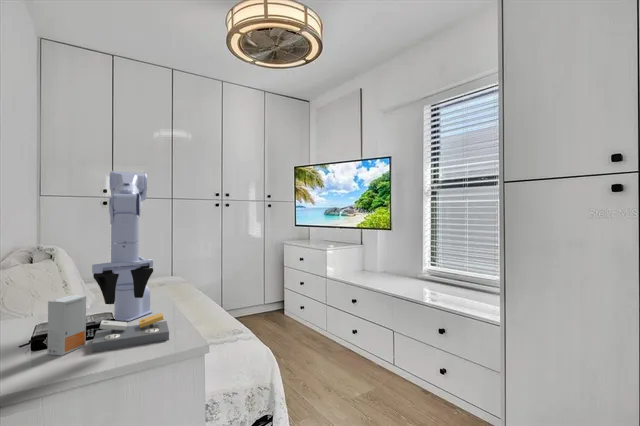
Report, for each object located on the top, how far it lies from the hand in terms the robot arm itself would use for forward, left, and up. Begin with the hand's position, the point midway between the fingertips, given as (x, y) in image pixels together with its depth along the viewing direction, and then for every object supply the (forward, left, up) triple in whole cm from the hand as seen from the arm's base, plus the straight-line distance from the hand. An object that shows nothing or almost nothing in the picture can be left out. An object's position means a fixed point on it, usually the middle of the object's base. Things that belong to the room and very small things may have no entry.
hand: (124, 300), depth 79 cm
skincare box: (+5, -11, -11) cm, 16 cm away
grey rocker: (-2, -6, -7) cm, 10 cm away
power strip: (-4, -2, -11) cm, 12 cm away
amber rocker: (-8, 0, -7) cm, 11 cm away
